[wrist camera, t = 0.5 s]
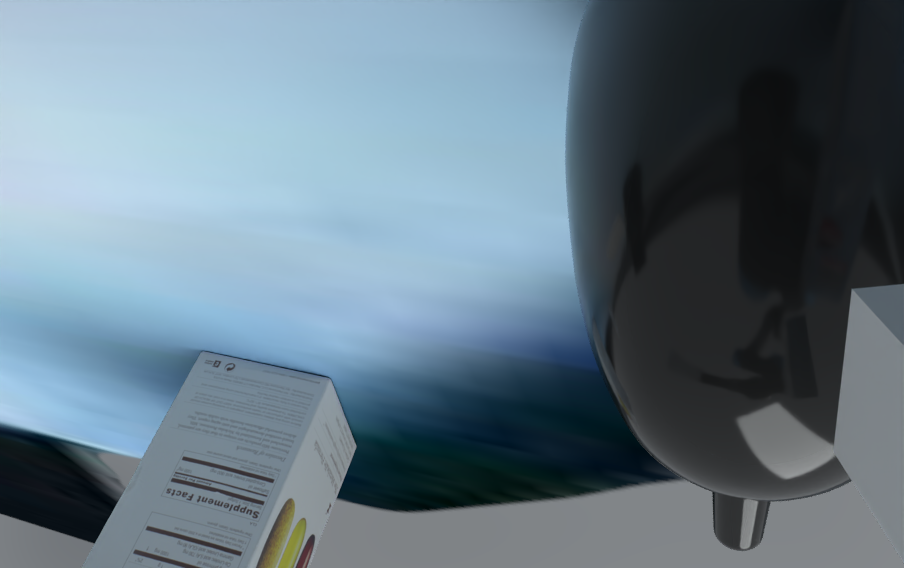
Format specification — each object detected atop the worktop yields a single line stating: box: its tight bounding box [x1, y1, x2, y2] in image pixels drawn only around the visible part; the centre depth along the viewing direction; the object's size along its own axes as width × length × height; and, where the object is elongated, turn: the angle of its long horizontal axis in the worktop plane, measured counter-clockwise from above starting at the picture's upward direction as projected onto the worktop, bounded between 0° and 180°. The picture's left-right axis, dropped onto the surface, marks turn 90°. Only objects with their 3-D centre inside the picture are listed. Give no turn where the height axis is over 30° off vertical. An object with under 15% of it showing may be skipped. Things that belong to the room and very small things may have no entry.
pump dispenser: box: [565, 0, 904, 551], centre depth 19 cm, size 10×10×15 cm
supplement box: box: [82, 351, 356, 568], centre depth 50 cm, size 10×9×17 cm
